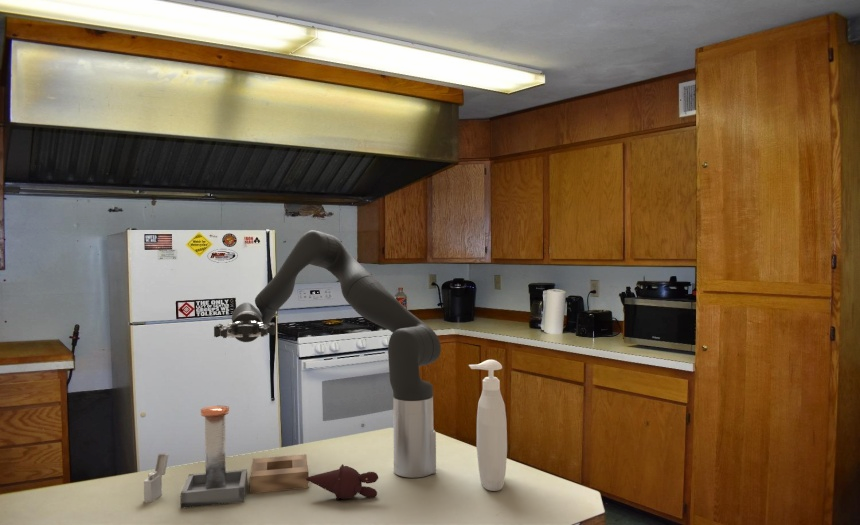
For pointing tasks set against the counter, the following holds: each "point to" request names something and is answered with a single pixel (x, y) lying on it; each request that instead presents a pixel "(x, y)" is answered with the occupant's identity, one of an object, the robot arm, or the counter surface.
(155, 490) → the lighter
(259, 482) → the hitch block
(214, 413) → the pin
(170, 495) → the counter surface
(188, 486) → the tray
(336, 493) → the icecream
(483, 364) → the soap bottle
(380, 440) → the counter surface
